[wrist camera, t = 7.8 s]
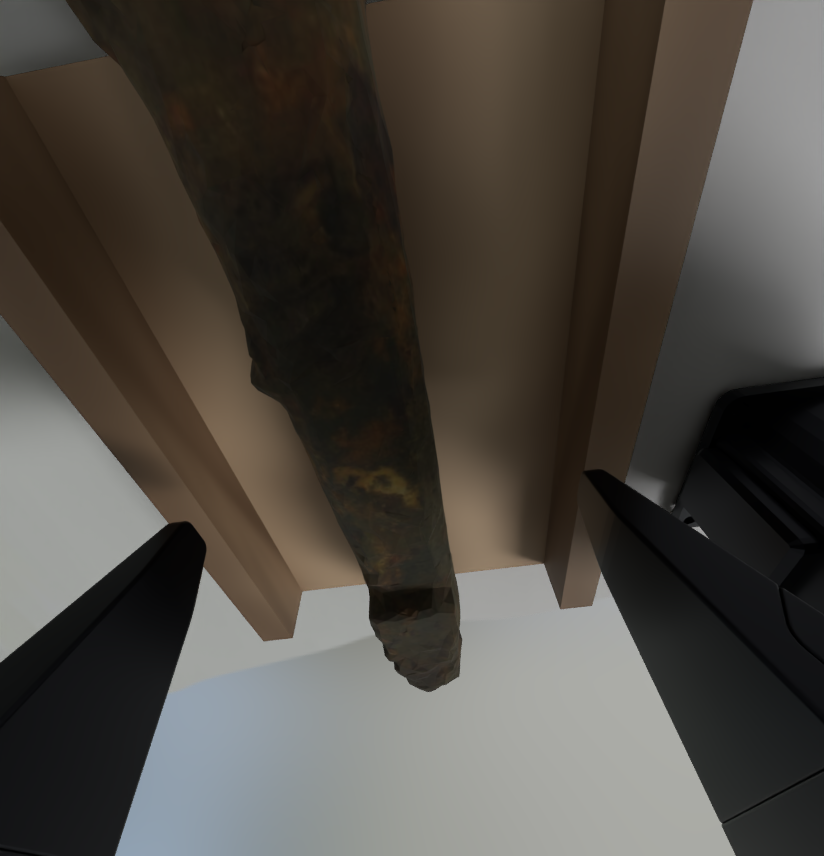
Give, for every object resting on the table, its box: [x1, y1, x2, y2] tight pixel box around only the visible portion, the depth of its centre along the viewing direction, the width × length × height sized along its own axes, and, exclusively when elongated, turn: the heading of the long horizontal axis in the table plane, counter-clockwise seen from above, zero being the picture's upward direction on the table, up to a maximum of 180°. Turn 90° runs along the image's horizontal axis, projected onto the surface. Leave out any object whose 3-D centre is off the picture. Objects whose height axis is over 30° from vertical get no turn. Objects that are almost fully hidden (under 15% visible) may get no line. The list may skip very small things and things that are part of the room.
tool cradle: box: [0, 0, 753, 641], centre depth 11 cm, size 13×17×3 cm
